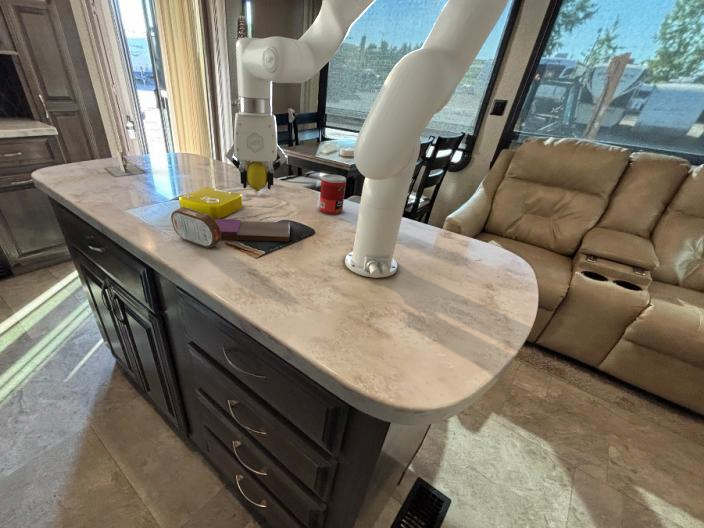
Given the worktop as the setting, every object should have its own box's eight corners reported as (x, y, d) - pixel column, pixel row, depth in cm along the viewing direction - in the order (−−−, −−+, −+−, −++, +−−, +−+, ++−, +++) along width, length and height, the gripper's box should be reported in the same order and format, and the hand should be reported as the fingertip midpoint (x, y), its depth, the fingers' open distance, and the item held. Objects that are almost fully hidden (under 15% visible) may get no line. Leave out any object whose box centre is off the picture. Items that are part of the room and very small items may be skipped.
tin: (223, 248, 83) (220, 216, 78) (214, 252, 81) (211, 220, 76) (181, 233, 89) (176, 203, 84) (172, 237, 87) (166, 206, 82)
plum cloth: (236, 234, 87) (236, 232, 87) (210, 233, 87) (210, 231, 87) (241, 221, 95) (241, 219, 94) (216, 220, 94) (216, 218, 94)
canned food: (339, 216, 107) (343, 181, 100) (316, 212, 109) (318, 178, 102) (344, 209, 113) (348, 176, 106) (322, 205, 115) (325, 173, 108)
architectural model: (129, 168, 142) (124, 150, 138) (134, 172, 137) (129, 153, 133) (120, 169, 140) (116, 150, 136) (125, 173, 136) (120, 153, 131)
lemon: (264, 195, 83) (264, 162, 78) (243, 193, 84) (242, 160, 79) (270, 189, 87) (270, 158, 83) (250, 187, 88) (249, 155, 84)
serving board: (289, 241, 88) (289, 236, 88) (206, 239, 87) (206, 233, 86) (289, 227, 97) (289, 222, 96) (214, 224, 95) (213, 219, 95)
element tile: (244, 207, 109) (244, 192, 107) (217, 221, 98) (215, 205, 95) (208, 199, 114) (207, 185, 111) (178, 211, 103) (175, 196, 100)
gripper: (214, 106, 71) (221, 190, 81) (293, 111, 72) (290, 193, 82) (220, 103, 77) (226, 181, 87) (292, 108, 78) (290, 185, 88)
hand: (257, 186), depth 85 cm, fingers closed on lemon, 5 cm apart
